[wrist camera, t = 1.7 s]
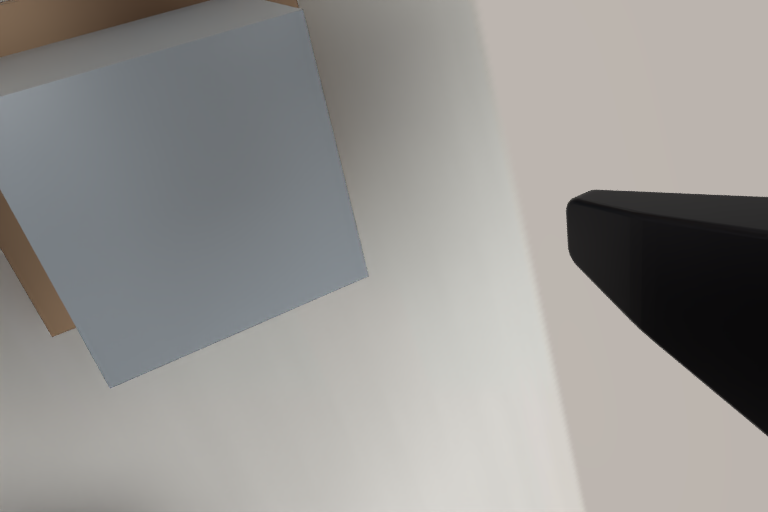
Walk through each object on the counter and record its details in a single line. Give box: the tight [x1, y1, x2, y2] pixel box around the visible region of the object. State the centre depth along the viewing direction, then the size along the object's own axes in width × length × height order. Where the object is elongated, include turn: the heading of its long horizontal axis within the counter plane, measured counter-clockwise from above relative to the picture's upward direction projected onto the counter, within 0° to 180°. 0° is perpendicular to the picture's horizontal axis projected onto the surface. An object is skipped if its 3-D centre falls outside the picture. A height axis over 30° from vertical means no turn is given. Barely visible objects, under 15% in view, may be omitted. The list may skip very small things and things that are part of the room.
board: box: [0, 0, 299, 337], centre depth 16 cm, size 9×8×4 cm
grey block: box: [0, 0, 369, 388], centre depth 15 cm, size 6×6×5 cm
